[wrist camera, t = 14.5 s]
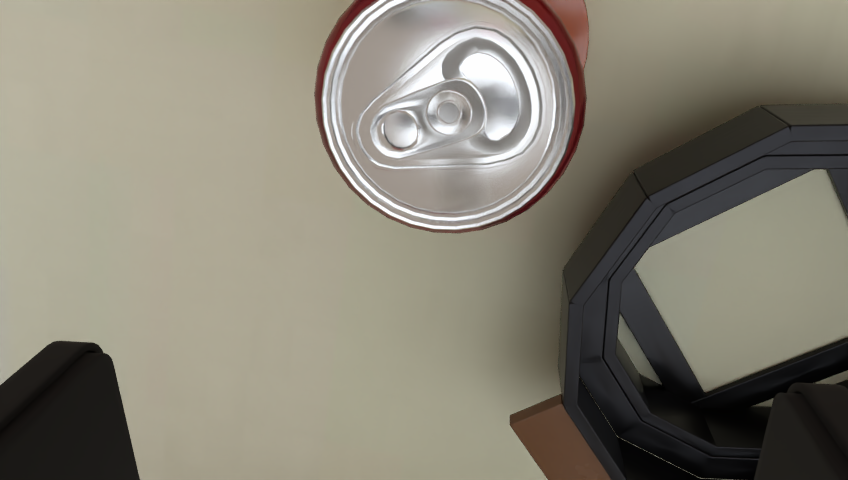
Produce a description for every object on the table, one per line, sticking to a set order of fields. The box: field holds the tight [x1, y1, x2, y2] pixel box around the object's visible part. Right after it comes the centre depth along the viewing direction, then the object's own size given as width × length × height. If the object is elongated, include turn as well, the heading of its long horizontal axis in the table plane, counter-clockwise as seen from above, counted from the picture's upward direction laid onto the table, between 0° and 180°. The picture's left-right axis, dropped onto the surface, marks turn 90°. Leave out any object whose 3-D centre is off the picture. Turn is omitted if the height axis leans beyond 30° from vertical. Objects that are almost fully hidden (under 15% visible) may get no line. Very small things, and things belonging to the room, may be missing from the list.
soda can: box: [314, 0, 587, 233], centre depth 22 cm, size 7×7×12 cm
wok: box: [510, 104, 848, 480], centre depth 29 cm, size 24×19×6 cm
